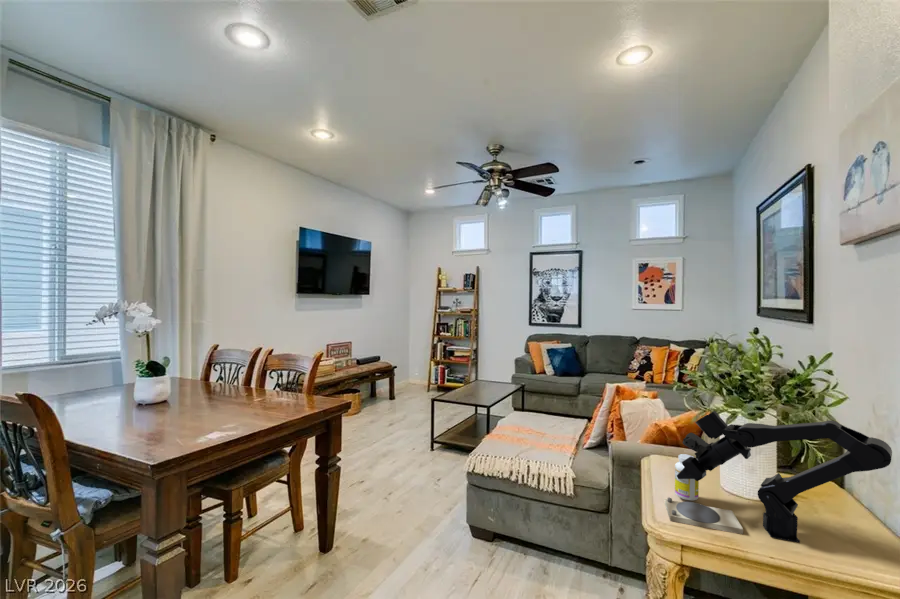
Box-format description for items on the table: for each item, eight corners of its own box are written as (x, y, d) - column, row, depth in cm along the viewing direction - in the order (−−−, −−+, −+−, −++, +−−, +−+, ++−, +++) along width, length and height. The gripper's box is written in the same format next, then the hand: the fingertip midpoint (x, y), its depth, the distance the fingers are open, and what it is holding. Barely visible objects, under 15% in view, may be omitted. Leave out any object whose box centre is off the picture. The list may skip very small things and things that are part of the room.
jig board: (730, 514, 121) (731, 506, 121) (743, 535, 110) (743, 526, 110) (664, 503, 127) (664, 495, 127) (670, 521, 117) (670, 513, 117)
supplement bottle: (692, 491, 132) (692, 453, 132) (702, 501, 126) (703, 461, 126) (670, 490, 133) (671, 452, 133) (680, 500, 127) (681, 460, 126)
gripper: (711, 421, 132) (674, 445, 141) (689, 434, 120) (651, 458, 129) (739, 452, 126) (699, 474, 135) (719, 469, 114) (677, 492, 123)
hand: (681, 474), depth 130 cm, fingers closed on supplement bottle, 7 cm apart
